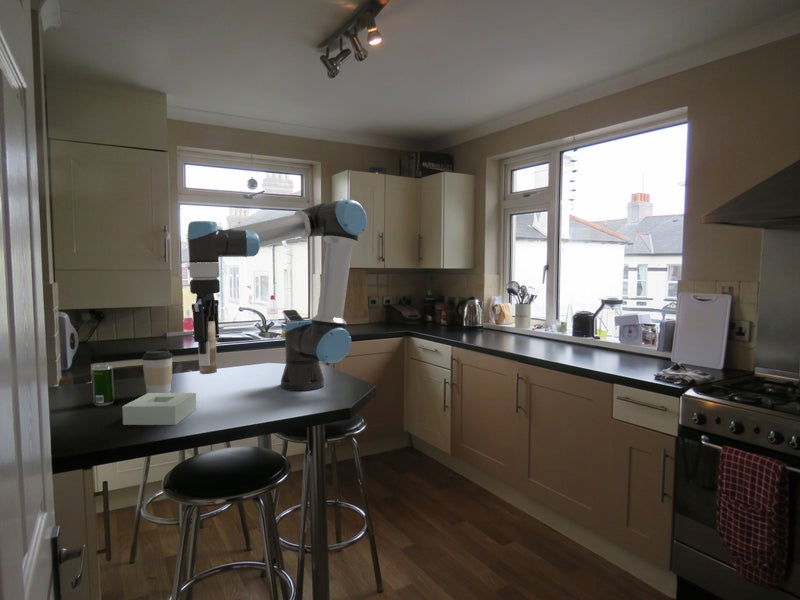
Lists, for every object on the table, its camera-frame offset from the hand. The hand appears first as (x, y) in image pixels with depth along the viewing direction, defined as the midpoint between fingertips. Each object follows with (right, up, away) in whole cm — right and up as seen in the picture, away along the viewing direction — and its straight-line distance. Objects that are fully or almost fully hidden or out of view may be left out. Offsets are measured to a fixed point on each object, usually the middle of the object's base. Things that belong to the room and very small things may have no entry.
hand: (208, 363), depth 139 cm
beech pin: (0, -2, 0) cm, 2 cm away
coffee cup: (-26, -14, +26) cm, 39 cm away
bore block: (-14, -15, +3) cm, 21 cm away
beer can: (-38, -15, +16) cm, 44 cm away
